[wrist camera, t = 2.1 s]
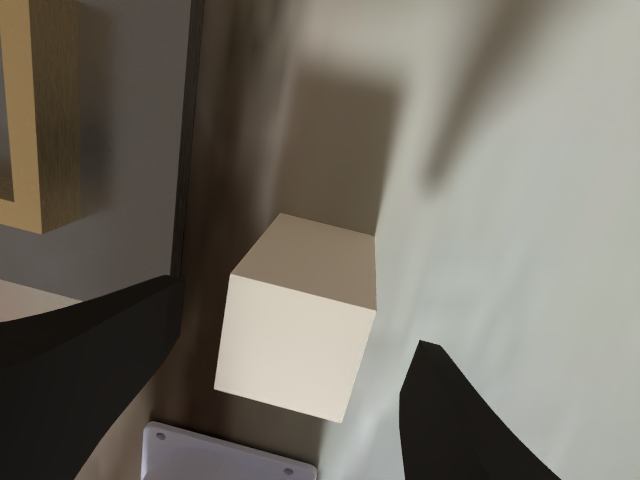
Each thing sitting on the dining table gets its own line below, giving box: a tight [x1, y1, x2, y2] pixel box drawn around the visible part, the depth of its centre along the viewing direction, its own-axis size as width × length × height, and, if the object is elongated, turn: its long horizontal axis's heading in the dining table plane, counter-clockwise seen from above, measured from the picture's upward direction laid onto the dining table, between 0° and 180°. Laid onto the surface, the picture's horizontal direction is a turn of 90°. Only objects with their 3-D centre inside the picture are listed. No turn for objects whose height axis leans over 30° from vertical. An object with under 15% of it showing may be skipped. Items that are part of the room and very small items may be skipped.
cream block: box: [214, 213, 377, 423], centre depth 14 cm, size 4×4×6 cm
